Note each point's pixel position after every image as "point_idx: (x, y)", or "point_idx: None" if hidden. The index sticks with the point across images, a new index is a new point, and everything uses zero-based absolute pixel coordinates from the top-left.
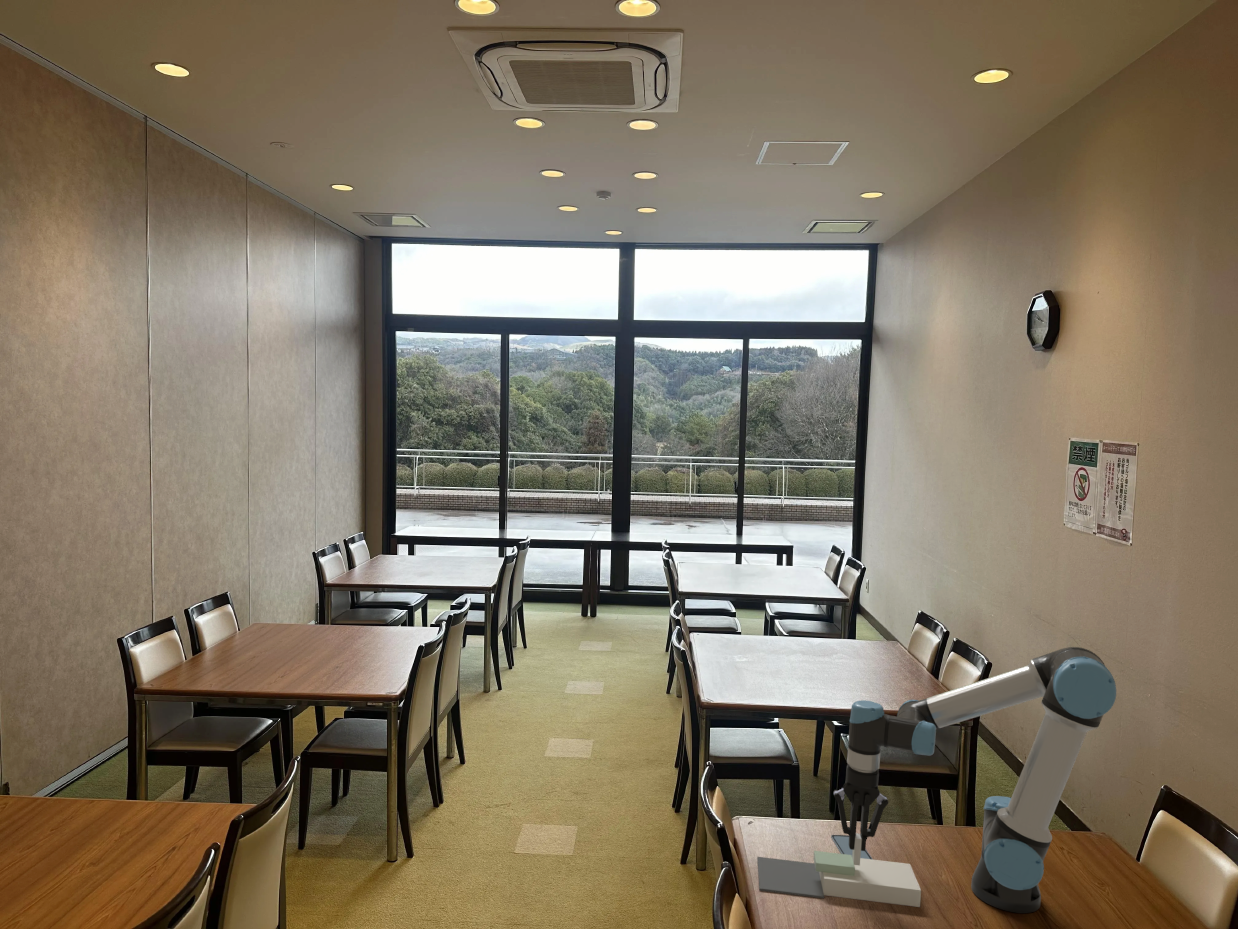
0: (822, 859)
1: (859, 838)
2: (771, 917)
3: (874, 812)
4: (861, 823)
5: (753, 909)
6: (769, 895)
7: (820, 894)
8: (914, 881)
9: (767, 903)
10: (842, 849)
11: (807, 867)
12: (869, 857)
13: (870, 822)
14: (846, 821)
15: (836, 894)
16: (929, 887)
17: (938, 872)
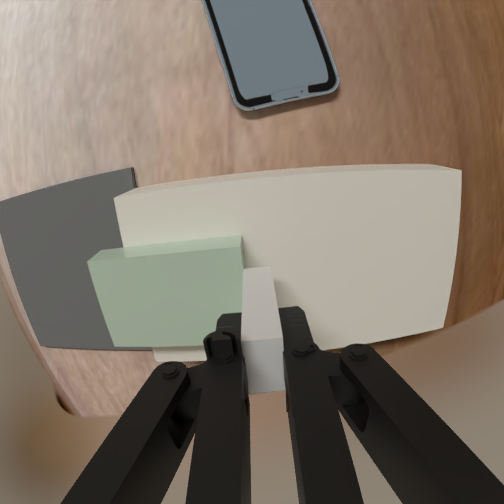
0: (127, 318)
1: (272, 389)
2: (95, 414)
3: (421, 476)
4: (292, 426)
5: (62, 397)
6: (63, 355)
7: None
8: (444, 286)
9: (72, 380)
10: (222, 25)
11: (103, 208)
12: (322, 54)
13: (370, 400)
14: (176, 469)
15: None
16: (470, 193)
17: (497, 105)
